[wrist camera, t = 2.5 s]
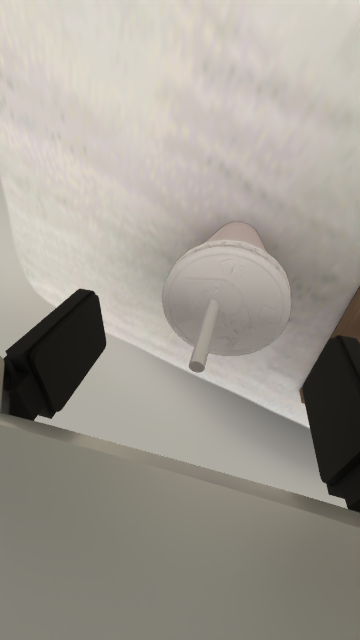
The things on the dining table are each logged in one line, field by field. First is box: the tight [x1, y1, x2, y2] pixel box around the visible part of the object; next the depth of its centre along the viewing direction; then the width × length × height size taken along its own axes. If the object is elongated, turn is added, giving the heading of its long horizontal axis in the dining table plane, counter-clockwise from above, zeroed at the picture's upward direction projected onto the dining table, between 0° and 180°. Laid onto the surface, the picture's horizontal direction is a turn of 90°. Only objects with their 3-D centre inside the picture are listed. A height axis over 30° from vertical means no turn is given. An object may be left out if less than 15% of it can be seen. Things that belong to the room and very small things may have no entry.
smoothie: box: [162, 222, 291, 372], centre depth 14 cm, size 6×6×14 cm
